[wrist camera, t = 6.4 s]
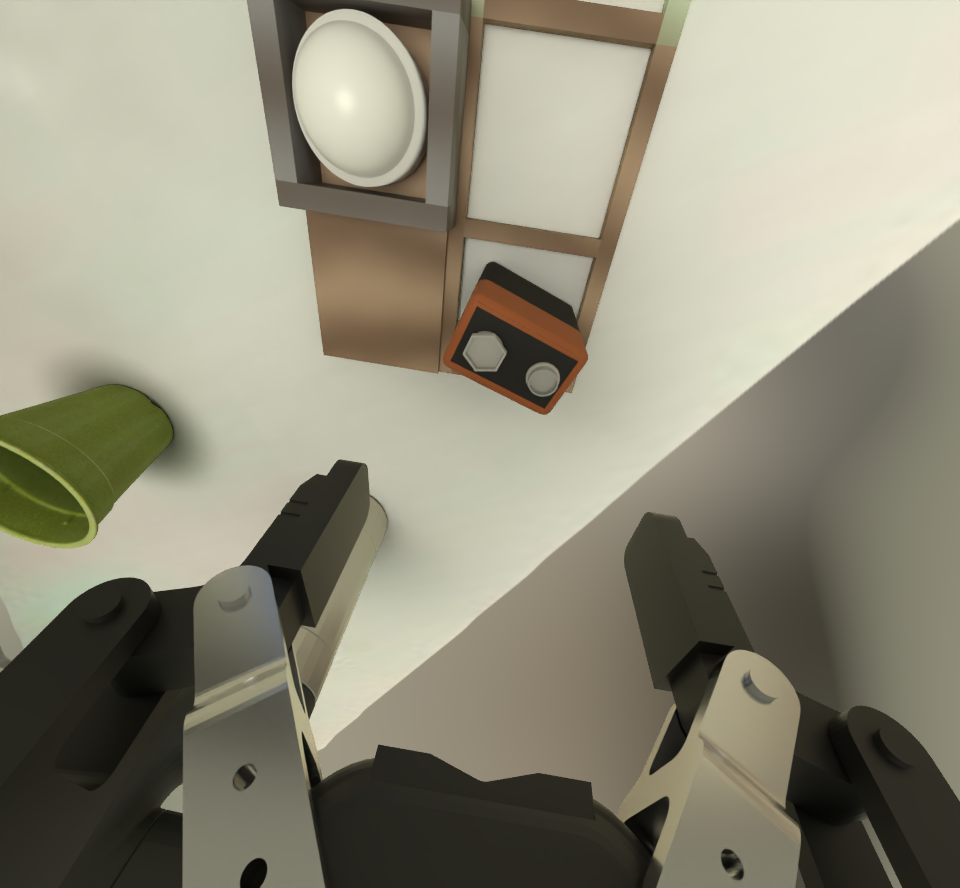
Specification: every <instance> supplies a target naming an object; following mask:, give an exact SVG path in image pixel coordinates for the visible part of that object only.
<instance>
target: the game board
mask: <svg viewBox="0 0 960 888" xmlns="http://www.w3.org/2000/svg"><path fill="white" fill-rule="evenodd" d="M690 2H691V0H665V3H664V7H663V10H662V13H657V12H650V11H644V10H637V9H630V8H624V7H617V6H610V5H604V4H597V3H590V2H584V1H577V0H247V4H248V11H249V17H250V23H251V30H252V36H253V42H254V48H255V55H256V61H257V67H258V74H259V80H260V86H261V92H262V99H263V105H264V111H265V117H266V124H267V130H268V136H269V143H270V149H271V155H272V161H273V168H274V174H275V180H276V187H277V193H278V199H279V205H280V206H284V207H290V208H297V209H303V210H306V216H307V224H308V232H309V240H310V248H311V256H312V264H313V272H314V280H315V288H316V296H317V304H318V312H319V320H320V328H321V336H322V344H323V352H324V355H328V356H334V357H340V358H346V359H353V360H359V361H365V362H371V363H377V364H383V365H389V366H395V367H401V368H408V369H414V370H420V371H426V372H432V373H438V372H439V371H440V372H446V373H452V374H458V375H461V374H459V373H457V372H456V371H454V370H452V369H450V368H448V367H447V366H445V364H444V363H443V355H444V353H445V351H446V348H447V346H448V344H449V342H450V340H451V338H452V336H453V334H454V331H455V329H456V327H457V321H458V310H459V299H460V288H461V277H462V266H463V255H464V244H465V237H467V238H473V239H479V240H486V241H492V242H498V243H504V244H511V245H517V246H523V247H530V248H536V249H542V250H549V251H555V252H561V253H567V254H574V255H580V256H586V257H593V258H594V259H593V263H592V266H591V270H590V274H589V277H588V281H587V284H586V288H585V292H584V295H583V299H582V302H581V306H580V310H579V313H578V317H577V320H576V321H577V324H578V327H579V330H580V333H581V336H582V340H583V343H584V346H585V347H586V344H587V341H588V337H589V334H590V331H591V327H592V324H593V321H594V318H595V314H596V311H597V308H598V304H599V301H600V298H601V295H602V291H603V288H604V285H605V281H606V278H607V275H608V272H609V268H610V265H611V262H612V258H613V255H614V252H615V249H616V245H617V242H618V239H619V235H620V232H621V229H622V226H623V222H624V219H625V216H626V212H627V209H628V206H629V203H630V199H631V196H632V193H633V189H634V186H635V183H636V179H637V176H638V173H639V170H640V166H641V163H642V160H643V156H644V153H645V150H646V147H647V143H648V140H649V137H650V133H651V130H652V127H653V124H654V120H655V117H656V114H657V110H658V107H659V104H660V101H661V97H662V94H663V91H664V87H665V84H666V81H667V78H668V74H669V71H670V68H671V64H672V61H673V58H674V55H675V51H676V48H677V45H678V41H679V38H680V35H681V31H682V28H683V25H684V22H685V18H686V15H687V12H688V8H689V5H690ZM339 9H354V10H358V11H362V12H364V13H367V14H369V15H371V16H373V17H374V18H376V19H377V20H379V21H381V22H382V23H383V24H384V25H385V26H386V27H388V28H389V29H390V30H391V31H392V32H393V33H394V34H395V36H396V37H397V38H398V39H399V40H400V41H401V42H402V43H403V44H404V45H405V46H406V47H407V49H408V50H409V51H410V52H411V54H412V55H413V57H414V58H415V60H416V62H417V63H418V65H419V67H420V69H421V71H422V74H423V76H424V78H425V81H426V85H427V88H428V92H429V118H428V146H427V149H426V152H425V154H424V156H423V159H422V160H421V162H420V164H419V165H418V167H417V168H416V169H415V170H414V171H413V173H411V174H410V175H409V176H408V177H407V178H405V179H404V180H402V181H400V182H398V183H396V184H393V185H389V186H378V187H363V186H358V185H354V184H351V183H349V182H346V181H344V180H343V179H341V178H339V177H338V176H336V175H335V174H334V173H332V172H331V171H330V170H329V169H328V168H327V167H326V166H324V164H323V163H322V162H321V161H320V160H319V159H318V157H317V156H316V155H315V153H314V152H313V150H312V149H311V147H310V145H309V144H308V142H307V140H306V138H305V136H304V134H303V132H302V129H301V127H300V124H299V121H298V118H297V114H296V110H295V105H294V99H293V89H292V73H293V65H294V60H295V56H296V52H297V49H298V46H299V44H300V41H301V39H302V38H303V36H304V34H305V32H306V31H307V30H308V28H309V27H310V26H311V25H312V24H313V23H314V22H315V21H316V20H317V19H318V18H320V17H321V16H323V15H324V14H326V13H329V12H331V11H334V10H339ZM485 23H486V24H492V25H499V26H506V27H512V28H519V29H525V30H532V31H539V32H545V33H552V34H558V35H565V36H572V37H578V38H585V39H592V40H598V41H605V42H611V43H618V44H625V45H631V46H638V47H644V48H651V49H652V50H651V54H650V57H649V61H648V64H647V68H646V72H645V75H644V79H643V82H642V86H641V90H640V93H639V97H638V100H637V104H636V108H635V111H634V115H633V118H632V122H631V126H630V129H629V133H628V136H627V140H626V144H625V147H624V151H623V155H622V158H621V162H620V165H619V169H618V173H617V176H616V180H615V183H614V187H613V191H612V194H611V198H610V201H609V205H608V209H607V212H606V216H605V219H604V223H603V227H602V230H601V234H600V237H599V239H598V238H592V237H586V236H579V235H573V234H567V233H560V232H554V231H548V230H541V229H535V228H529V227H522V226H516V225H510V224H503V223H497V222H491V221H484V220H478V219H472V218H467V211H468V200H469V189H470V178H471V167H472V156H473V145H474V134H475V123H476V112H477V101H478V90H479V79H480V68H481V57H482V46H483V35H484V24H485ZM576 377H577V376H576ZM576 377H575V379H574V380H573V381H572V383H571V384H570V385H569V387H568V388H567V390H566V391H565V392H568V393H572V390H573V387H574V383H575V380H576Z"/></svg>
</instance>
